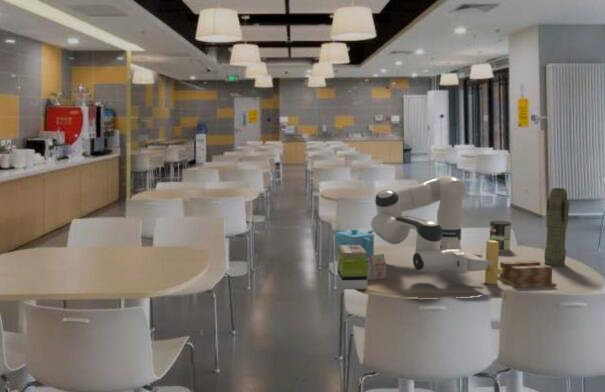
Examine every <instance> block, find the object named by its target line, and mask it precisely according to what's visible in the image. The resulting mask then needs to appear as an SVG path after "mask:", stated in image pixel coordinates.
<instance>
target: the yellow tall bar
mask: <svg viewBox="0 0 605 392" xmlns="http://www.w3.org/2000/svg"><path fill="white" fill-rule="evenodd" d="M485 245H486V247H485V249H486V251H485V260H488V259H491V260H493V261H494V263H493V265H487V269H486V270H484V271H485V272H484V273H485V274H484V282H485V284H486V283H487V284H488V285H497V284H498V279H497V276H498V275H500V274H502V272H503V269H502V268H500V267H499V252H500V251H499V242H497V241H495V240H494V241H490V240H486V244H485Z"/></svg>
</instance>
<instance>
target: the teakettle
mask: <svg viewBox="0 0 605 392" xmlns="http://www.w3.org/2000/svg"><path fill="white" fill-rule="evenodd" d="M335 231H336V232H335V233H334V235H333V237H334V256H336V257H337V255H338V254H337V247H338V245H361V246H362V247H363V248H364V250H365V251H366V252H367V259H369V257H370V255H375V254H374V251H375V250H374V249H375V246H374V244H375V242H374V241H375V235H374V234H373V232H374V231H373V229H371V230H368V231H367V232H363V231H359V229H358V228H351V229H350V230H346V231H342V230H341V229H339V228H335Z"/></svg>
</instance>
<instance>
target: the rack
mask: <svg viewBox="0 0 605 392" xmlns="http://www.w3.org/2000/svg"><path fill="white" fill-rule="evenodd" d="M499 262H500V265H499V266H500V268H502V269H503V272H502V274H498V276H497V280H499V281H502V282H503V283H506V284H507V285H509V286H512V287H514V288H529V287H551V286H552V287H553V286H558V284H557V282H554V281H552V280H553V266H549V265H546V264H544V265H543V264H542V265H541V262H540V261H538V260H522V261H517V260H516V261H499Z"/></svg>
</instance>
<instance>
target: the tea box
mask: <svg viewBox="0 0 605 392" xmlns="http://www.w3.org/2000/svg"><path fill="white" fill-rule="evenodd" d="M337 254H338V255H337V256H336V257H337V259H336V260H337V265H336V267H337V274H336V275H337V281H338V283H339V285H340V287H341V289H342V290H365V289H366V290H367V289H368V279H367V264H368V261H367V260H368V258H367V252H366V251H365V250H364V248H363V247H362V246H361V245H338V247H337Z"/></svg>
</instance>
